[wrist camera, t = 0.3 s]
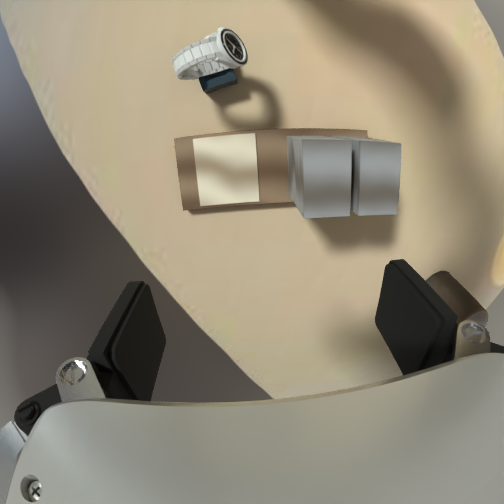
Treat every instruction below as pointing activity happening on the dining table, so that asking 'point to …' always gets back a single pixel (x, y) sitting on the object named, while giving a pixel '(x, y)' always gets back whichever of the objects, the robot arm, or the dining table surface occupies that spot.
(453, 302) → the pillar candle
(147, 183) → the dining table surface
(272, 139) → the wood and grey tray
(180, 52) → the watch
